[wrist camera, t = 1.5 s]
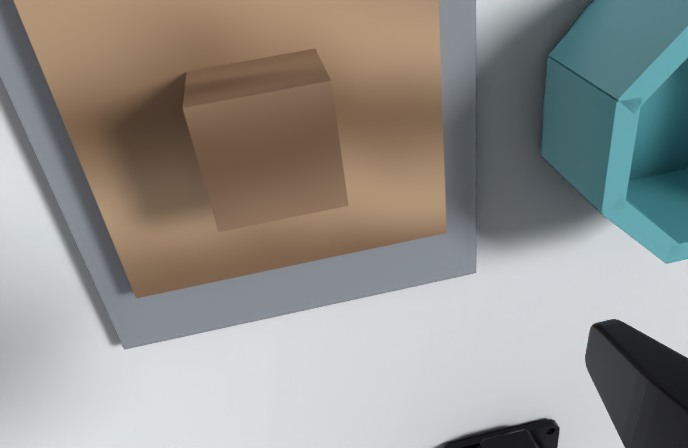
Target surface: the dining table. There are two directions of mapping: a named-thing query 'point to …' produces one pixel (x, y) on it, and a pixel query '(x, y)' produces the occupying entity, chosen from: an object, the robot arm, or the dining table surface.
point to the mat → (274, 285)
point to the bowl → (625, 117)
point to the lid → (248, 127)
